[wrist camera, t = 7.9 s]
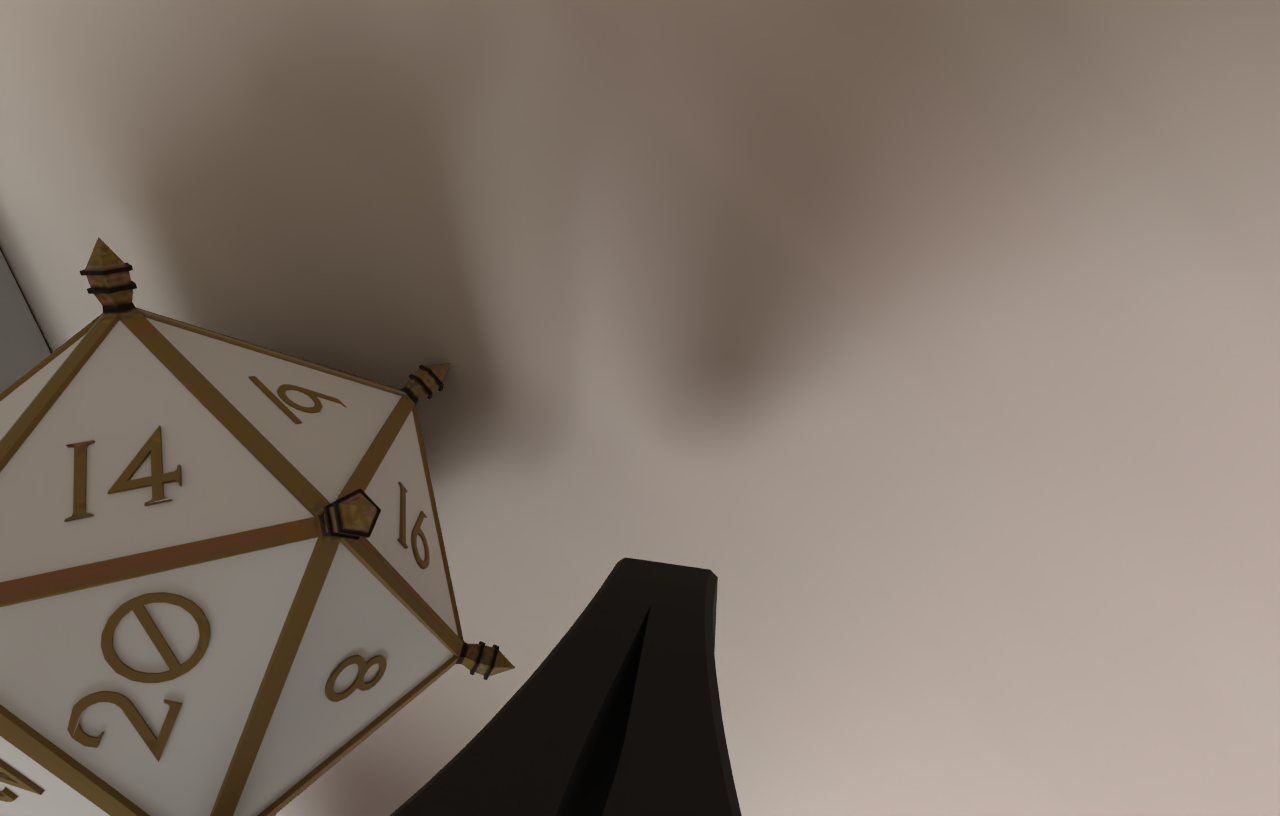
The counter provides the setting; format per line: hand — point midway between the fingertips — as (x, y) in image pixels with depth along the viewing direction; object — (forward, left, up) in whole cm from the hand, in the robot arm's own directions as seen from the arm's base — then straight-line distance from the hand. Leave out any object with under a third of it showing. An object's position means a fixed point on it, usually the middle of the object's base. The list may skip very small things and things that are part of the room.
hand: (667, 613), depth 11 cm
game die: (0, +7, -3) cm, 8 cm away
